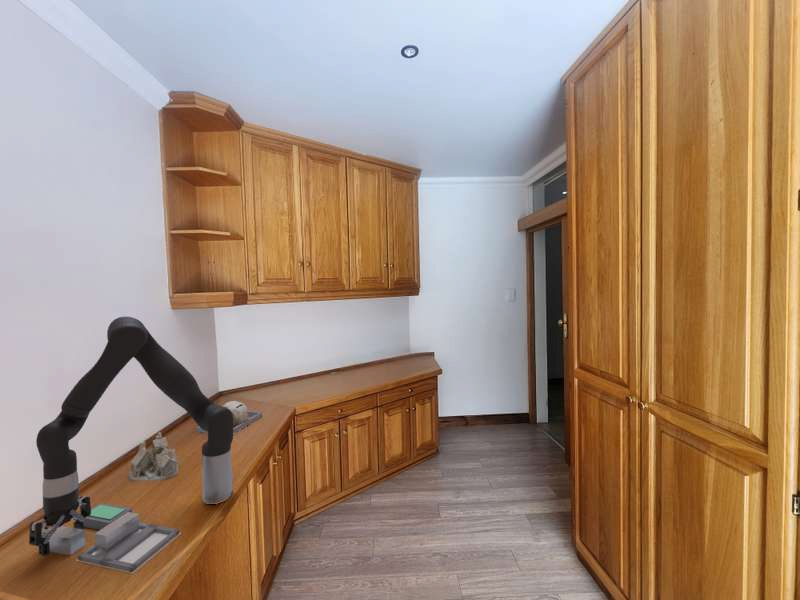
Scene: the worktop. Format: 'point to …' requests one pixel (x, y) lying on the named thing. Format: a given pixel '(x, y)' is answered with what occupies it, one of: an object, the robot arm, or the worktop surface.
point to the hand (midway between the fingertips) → (62, 544)
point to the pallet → (133, 549)
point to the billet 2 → (116, 533)
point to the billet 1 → (67, 540)
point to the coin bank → (237, 411)
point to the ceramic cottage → (154, 462)
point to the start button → (106, 512)
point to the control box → (101, 523)
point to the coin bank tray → (250, 413)
